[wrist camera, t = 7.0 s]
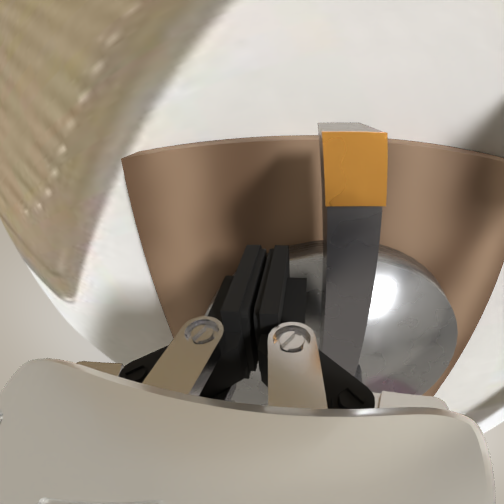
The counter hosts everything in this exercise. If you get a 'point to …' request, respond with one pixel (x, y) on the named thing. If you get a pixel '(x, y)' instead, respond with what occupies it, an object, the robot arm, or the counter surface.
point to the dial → (365, 279)
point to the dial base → (312, 216)
